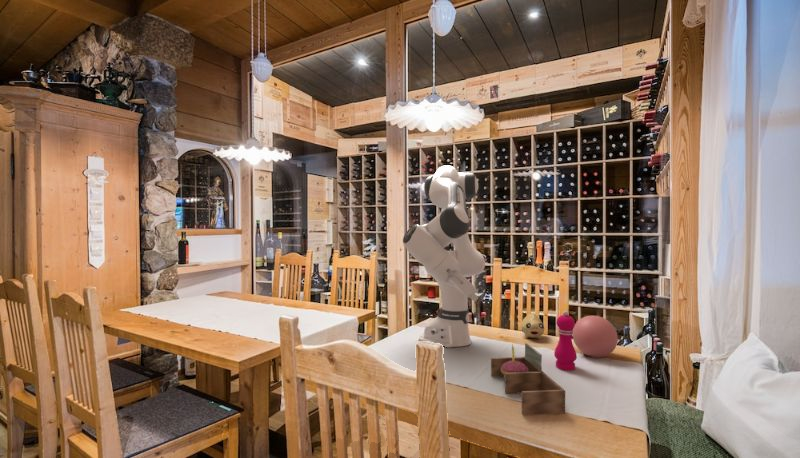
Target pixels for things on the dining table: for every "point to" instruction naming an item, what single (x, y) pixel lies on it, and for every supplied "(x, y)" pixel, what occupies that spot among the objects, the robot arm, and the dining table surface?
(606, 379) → the dining table surface
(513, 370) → the cupcake
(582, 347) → the balloon
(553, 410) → the walnut rack
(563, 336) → the pepper mill
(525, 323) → the beige toy head
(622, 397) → the dining table surface
